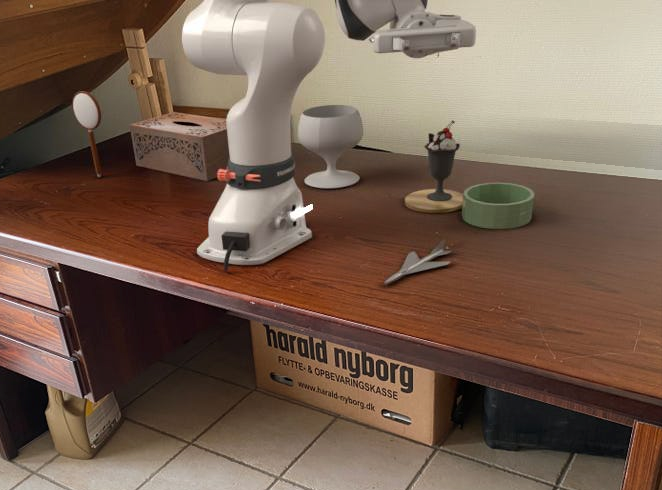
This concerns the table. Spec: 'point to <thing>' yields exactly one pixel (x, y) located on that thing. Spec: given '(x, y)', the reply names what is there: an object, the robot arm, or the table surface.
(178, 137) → the tissue box cover
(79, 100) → the magnifying glass
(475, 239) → the table surface
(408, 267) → the toy airplane
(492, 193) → the green shallow round dish
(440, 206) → the trivet
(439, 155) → the sundae
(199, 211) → the table surface
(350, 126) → the chalice
